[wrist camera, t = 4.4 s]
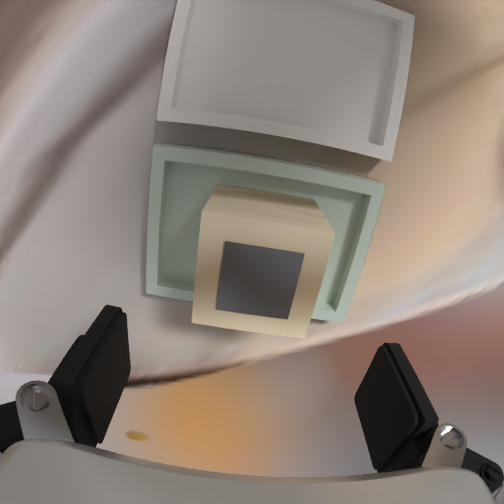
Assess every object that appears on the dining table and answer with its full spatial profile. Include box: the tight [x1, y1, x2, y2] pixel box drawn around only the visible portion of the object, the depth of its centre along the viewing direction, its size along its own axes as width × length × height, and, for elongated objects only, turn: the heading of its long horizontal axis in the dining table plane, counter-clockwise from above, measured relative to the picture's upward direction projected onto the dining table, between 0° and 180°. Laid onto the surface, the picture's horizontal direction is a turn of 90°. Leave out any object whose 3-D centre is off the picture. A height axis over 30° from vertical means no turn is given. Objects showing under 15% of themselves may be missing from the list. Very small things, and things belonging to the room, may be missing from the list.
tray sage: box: [146, 143, 386, 322], centre depth 20 cm, size 10×14×2 cm
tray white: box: [156, 0, 415, 162], centre depth 16 cm, size 10×14×2 cm
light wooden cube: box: [191, 183, 336, 338], centre depth 18 cm, size 6×6×6 cm
